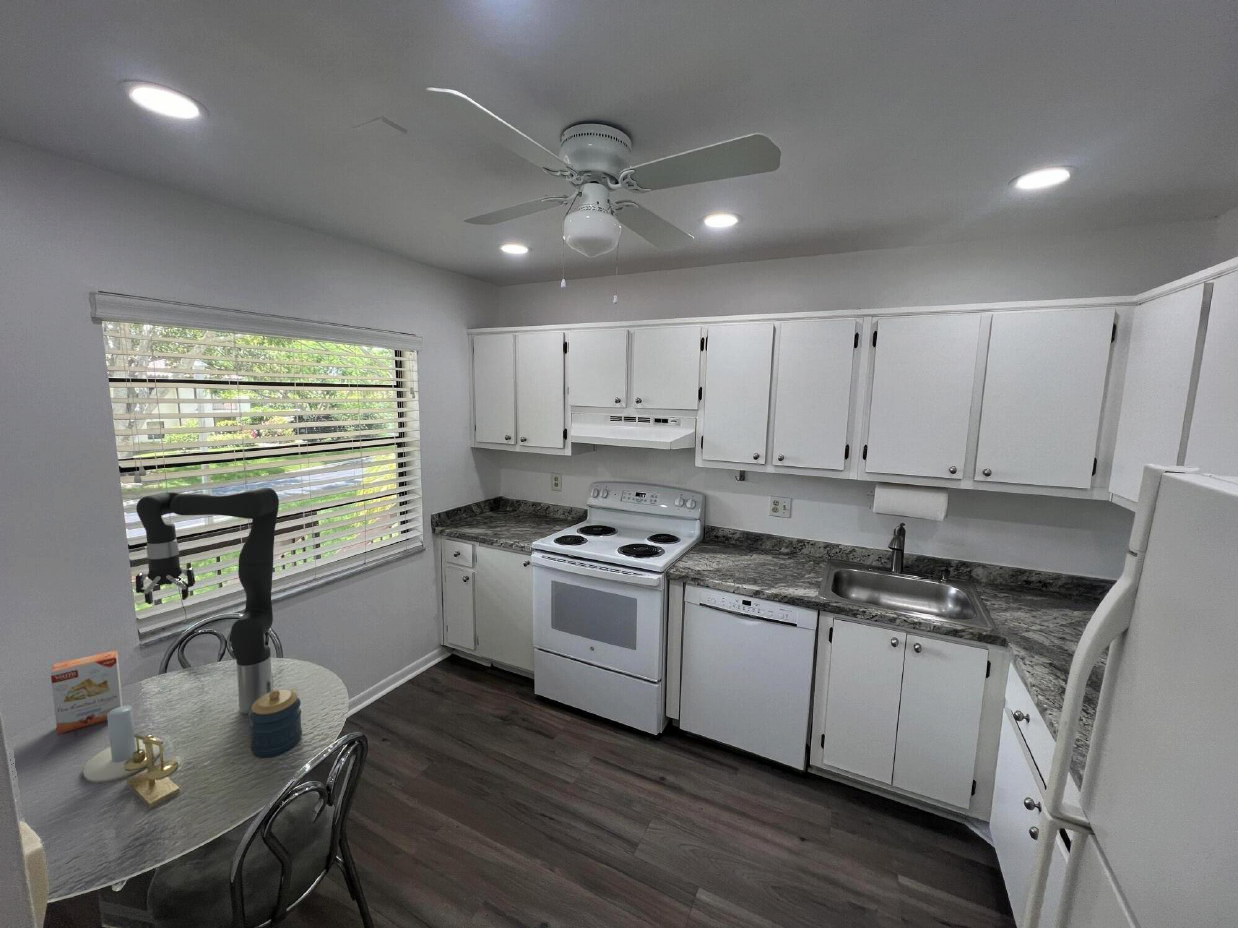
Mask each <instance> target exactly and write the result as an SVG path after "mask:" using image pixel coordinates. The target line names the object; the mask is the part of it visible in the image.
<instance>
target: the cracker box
mask: <svg viewBox="0 0 1238 928" xmlns="http://www.w3.org/2000/svg"><path fill="white" fill-rule="evenodd" d="M50 678H51V679H50V680H51V687H52V697H53V698H52V699H53V706H54V716H55V724H56V732H57V735H60V734H63V733H66V732H67V733H68V732H71V731H73V730H74V731H75V730H77V729H81V728H85V727H88V726H91V725H96V724H99V723H102V722H106V721H108V719H107V714H108V713H109V712H110V711H111V710H113V709H115V708H118V707H121V706H123V697H122V686H121V685H122V684H121V676H120V666H119V655H118V650H112V651H108V652H103V653H97V654H94V655H88V656H85V657H81V658H75V659H69V660H66V661H61V662H58V663H56V662H55V663H53V664H52V666H51V670H50Z"/></svg>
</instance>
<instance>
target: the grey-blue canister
mask: <svg viewBox="0 0 1238 928" xmlns="http://www.w3.org/2000/svg"><path fill="white" fill-rule="evenodd" d="M107 719H108V720H107V727H108V737H109V745H110V746H109V747H111V756H112V761H113V762H122V761H125V760H127V759H129V758H131V757H133V755H132V754H133V753H134V752H135V751H137V750H136V740H135V735H136V732H135V723H134V722H135V721H134V713H133V706H132V705H122V706H121V707H118V708H115V709H113V710H111V711H110V712H109V713H108V714H107Z"/></svg>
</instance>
